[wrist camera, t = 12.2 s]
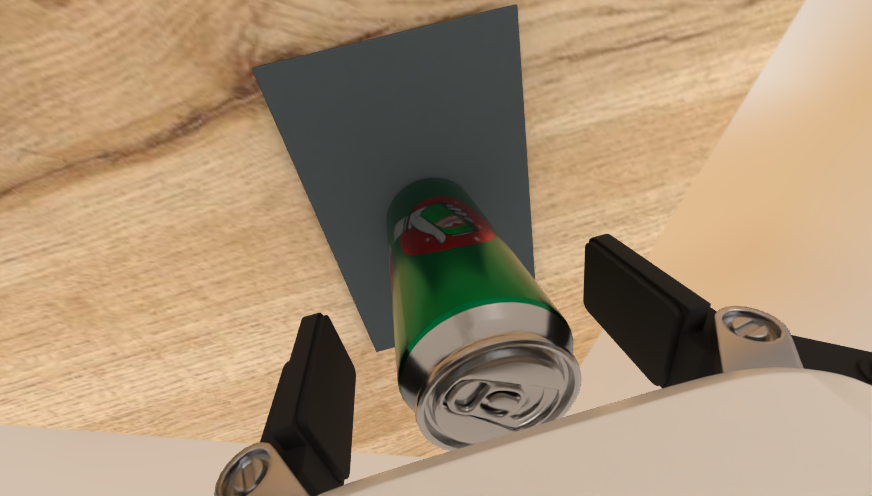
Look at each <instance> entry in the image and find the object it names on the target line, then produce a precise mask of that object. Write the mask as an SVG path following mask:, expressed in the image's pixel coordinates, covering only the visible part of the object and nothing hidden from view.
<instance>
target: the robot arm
mask: <svg viewBox="0 0 872 496" xmlns="http://www.w3.org/2000/svg"><path fill="white" fill-rule="evenodd" d="M583 301H584V305H585V308H586V309H587V311H588V312H589V313H590V314H591V315H592V316H593V317H594V319H595V320H596V321H597V322H598V323H599V324H600V325H601V326H602V328H603V329H604V330H605V331H606V332H607V333H608V334H609V335H610V336H611V338H612V339H613V340H614V341H615V342H616V343H617V344H618V345H619V347H620V348H621V349H622V350H623V351H624V352H625V353H626V354H627V355H628V357H629V358H630V359H631V360H632V361H633V362H634V363H635V364H636V366H637V367H638V368H639V369H640V370H641V371H642V372H643V373H644V374H645V376H646V377H647V378H648V379H649V380H650V381H651V382H652V383H653V384H654V385H656V386H661V387H662V389H659V390H656V391H652V392H648V393H645V394H641V395H638V396H635V397H631V398H628V399H624V400H621V401H618V402H614V403H611V404H607V405H604V406H601V407H597V408H594V409H590V410H587V411H583V412H580V413H577V414H573V415H570V416H567V417H563V418H560V419H556V420H553V421H550V422H546V423H543V424H540V425H536V426H533V427H530V428H526V429H523V430H520V431H516V432H513V433H510V434H506V435H503V436H500V437H496V438H493V439H490V440H486V441H483V442H480V443H476V444H473V445H470V446H466V447H463V448H460V449H457V450H453V451H450V452H447V453H443V454H440V455H437V456H434V457H430V458H427V459H424V460H420V461H417V462H414V463H411V464H407V465H404V466H401V467H398V468H395V469H392V470H388V471H385V472H382V473H379V474H376V475H373V476H370V477H367V478H364V479H361V480H358V481H355V482H352V483H348V484H346V485H344V479H347V478H348V477H349V474H350V461H351V446H352V430H353V414H354V398H355V382H356V372H355V368H354V365H353V363H352V361H351V359H350V357H349V355H348V353H347V351H346V349H345V347H344V346H343V344H342V342H341V340H340V338H339V336H338V334H337V332H336V330H335V328H334V326H333V324H332V322H331V320H330V318H329V317H328V316H327V315H325V316H323V315H322V314H321V313H317V314H313V315H309V316H306V317H303V318H302V320H301V324H300V327H299V330H298V334H297V337H296V341H295V344H294V347H293V351H292V354H291V357H290V361H288V362H287V363H286V364H285V365H284V367H283V370H282V373H281V377H280V380H279V383H278V386H277V389H276V393H275V396H274V399H273V402H272V406H271V409H270V412H269V415H268V418H267V422H266V425H265V428H264V431H263V434H262V438H261V441H260V443H256V444H253V445H251V446H249V447H246V448H245V449H243V450H242V451H241V452H239V453H238V454H237V455H236V456H235V457H233V459H232V460H231V461H230V462H229V463H228V464H227V465H226V467H225V468H224V470H223V471H222V472H221V474H220V476H219V479H218V481H217V483H216V487H215V492H214V495H215V496H872V352H868V351H863V350H858V349H854V348H849V347H845V346H840V345H835V344H831V343H826V342H821V341H816V340H812V339H807V338H802V337H798V336H793V335H791V334H790V331H789V330H788V328H787V327H786V325H785V324H783V323H782V322H781V321H780V320H778V319H777V318H776V317H774V316H772V315H770V314H768V313H765V312H763V311H760V310H757V309H753V308H749V307H741V306H731V307H725V308H722V309H720V310H718V312H716V311H715V310H714V309H712V308H711V307H710V305H711V304H710V303H709V302H707V301H706V300H704V299H703V298H701V297H700V296H698V295H697V294H696V293H694V292H693V291H691V290H690V289H688V288H687V287H685V286H684V285H683V284H681V283H679V282H678V281H677V280H675V279H674V278H672V277H671V276H669V275H668V274H667V273H665V272H663V271H662V270H661V269H659V268H658V267H656V266H655V265H653V264H652V263H650V262H649V261H648V260H646V259H645V258H643V257H642V256H640V255H639V254H637V253H636V252H635V251H633V250H632V249H630V248H629V247H627V246H626V245H624V244H623V243H621V242H620V241H618V240H617V239H616V238H614V237H613V236H611V235H609V234H604V235H600V236H597V237H593V238H591V239H590V240H589V243H587V244H586V246H585V269H584V298H583Z"/></svg>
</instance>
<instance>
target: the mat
mask: <svg viewBox="0 0 872 496" xmlns="http://www.w3.org/2000/svg"><path fill="white" fill-rule="evenodd" d="M252 70H253V72H254V75H255V77H256V79H257V81H258V84H259V86H260V88H261V91H262V93H263V95H264V97H265V100H266V102H267V104H268V106H269V109H270V111H271V113H272V116H273V118H274V120H275V122H276V125H277V127H278V129H279V131H280V134H281V136H282V138H283V141H284V143H285V145H286V147H287V150H288V152H289V154H290V156H291V159H292V161H293V163H294V166H295V168H296V170H297V172H298V175H299V177H300V179H301V181H302V184H303V186H304V188H305V191H306V193H307V195H308V197H309V200H310V202H311V204H312V206H313V209H314V211H315V213H316V216H317V218H318V220H319V222H320V225H321V227H322V229H323V231H324V234H325V236H326V238H327V241H328V243H329V245H330V247H331V250H332V252H333V254H334V256H335V259H336V261H337V263H338V266H339V268H340V270H341V272H342V275H343V277H344V279H345V281H346V284H347V286H348V288H349V291H350V293H351V295H352V297H353V300H354V302H355V304H356V306H357V309H358V311H359V313H360V316H361V318H362V320H363V322H364V325H365V327H366V329H367V331H368V334H369V336H370V338H371V341H372V343H373V345H374V347H375V350H376V352H378V351H382V350H386V349H389V348H393V347H395V338H394V324H393V310H392V296H391V282H390V268H389V254H388V240H387V226H386V219H387V213H388V209H389V207H390V204H391V203H392V201H393V199H394V198H395V196H396V195H397V194H398V193H399V192H400V191H401V190H402V189H403V188H404V187H406V186H408V185H409V184H411V183H413V182H415V181H417V180H421V179H425V178H443V179H447V180H450V181H452V182H455V183H456V184H458V185H460V186H461V187H462V188H463V189H464V190H465V191H466V192H467V193H468V194H469V196H470V197H471V198H472V199H473V201H474V202H475V203H476V205H477V206H478V207H479V209H480V210H481V211H482V212H483V214H484V215H485V216H486V218H487V219H488V220H489V221H490V223H491V224H492V225H493V227H494V228H495V229H496V231H497V232H498V233H499V234H500V236H501V237H502V238H503V240H504V241H505V242H506V244H507V245H508V246H509V247H510V249H511V250H512V251H513V253H514V254H515V255H516V256H517V258H518V259H519V260H520V262H521V263H522V264H523V266H524V267H525V268H526V269H527V271H528V272H529V273H530V275H531V276H532V277H533V279H534V280H535V272H534V257H533V241H532V226H531V210H530V195H529V180H528V164H527V149H526V133H525V118H524V102H523V87H522V71H521V56H520V41H519V25H518V10H517V5H516V4H515V5H511V6H507V7H503V8H499V9H494V10H490V11H486V12H482V13H478V14H474V15H469V16H465V17H461V18H457V19H453V20H449V21H444V22H440V23H436V24H432V25H428V26H424V27H419V28H415V29H411V30H407V31H403V32H398V33H394V34H390V35H386V36H382V37H378V38H373V39H369V40H365V41H361V42H357V43H353V44H348V45H344V46H340V47H336V48H332V49H328V50H323V51H319V52H315V53H311V54H307V55H303V56H298V57H294V58H290V59H286V60H282V61H278V62H273V63H269V64H265V65H261V66H257V67H253V68H252Z"/></svg>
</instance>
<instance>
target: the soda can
mask: <svg viewBox="0 0 872 496" xmlns="http://www.w3.org/2000/svg"><path fill="white" fill-rule="evenodd" d="M386 226H387V240H388V254H389V268H390V282H391V296H392V310H393V324H394V338H395V352H396V366H397V380H398V386H399V391H400V393H401V395H402V398H403V400H404V401H405V402H406V404H407V405H408V406H409V408H410V409H411V410H412V411H413V412H414V413H415V416H416V421H417V424H418V426H419V429H420V431H421V432H422V434H423V435H424V436H425V438H426V439H428V440H429V441H430V442H431V443H432V444H434V445H436V446H438V447H440V448H442V449H445V450H448V451H453V450H457V449H460V448H463V447H466V446H470V445H473V444H476V443H480V442H483V441H486V440H490V439H493V438H496V437H500V436H503V435H506V434H510V433H513V432H516V431H520V430H523V429H526V428H530V427H533V426H536V425H540V424H543V423H546V422H550V421H553V420H556V419H560V418H562V417H563V416H564V415H565V414H566V413H567V412H568V411H569V409H570V408H571V406H572V405H573V403H574V402H575V400H576V398H577V396H578V394H579V391H580V387H581V372H580V367H579V364H578V362H577V360H576V358H575V356H574V355H573V337H572V332H571V329H570V327H569V325H568V323H567V321H566V320H565V319H564V317H563V316H562V315H561V314H560V312H559V311H558V310H557V308H556V307H555V306H554V304H553V303H552V302H551V301H550V299H549V298H548V297H547V295H546V294H545V293H544V291H543V290H542V289H541V288H540V286H539V285H538V284H537V282H536V281H535V280H534V279H533V277H532V276H531V275H530V273H529V272H528V271H527V269H526V268H525V267H524V266H523V264H522V263H521V262H520V260H519V259H518V258H517V256H516V255H515V254H514V253H513V251H512V250H511V249H510V247H509V246H508V245H507V244H506V242H505V241H504V240H503V238H502V237H501V236H500V234H499V233H498V232H497V231H496V229H495V228H494V227H493V225H492V224H491V223H490V221H489V220H488V219H487V218H486V216H485V215H484V214H483V212H482V211H481V210H480V209H479V207H478V206H477V205H476V203H475V202H474V201H473V199H472V198H471V197H470V196H469V194H468V193H467V192H466V191H465V190H464V189H463V188H462V187H461V186H460V185H458V184H456V183H455V182H452V181H450V180H447V179H443V178H425V179H421V180H417V181H415V182H413V183H411V184H409V185H408V186H406V187H404V188H403V189H402V190H401V191H400V192H399V193H398V194H397V195H396V196H395V198H394V199H393V201H392V203H391V204H390V207H389V209H388V213H387V219H386Z"/></svg>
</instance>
